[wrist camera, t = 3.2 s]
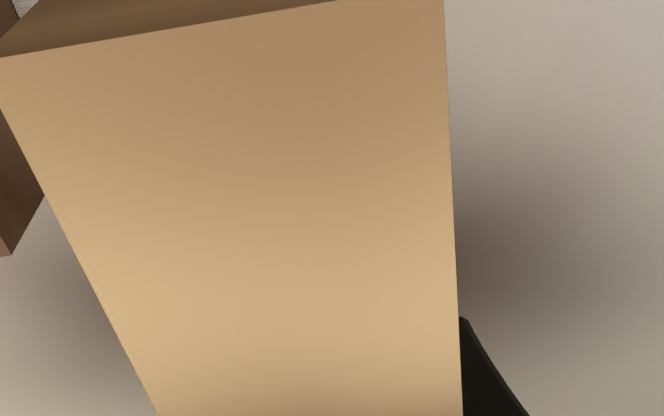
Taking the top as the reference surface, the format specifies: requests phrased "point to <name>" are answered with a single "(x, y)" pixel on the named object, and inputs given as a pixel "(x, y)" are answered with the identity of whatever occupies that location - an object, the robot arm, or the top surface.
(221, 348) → the rail
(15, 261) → the top surface
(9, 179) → the stepped wooden block
